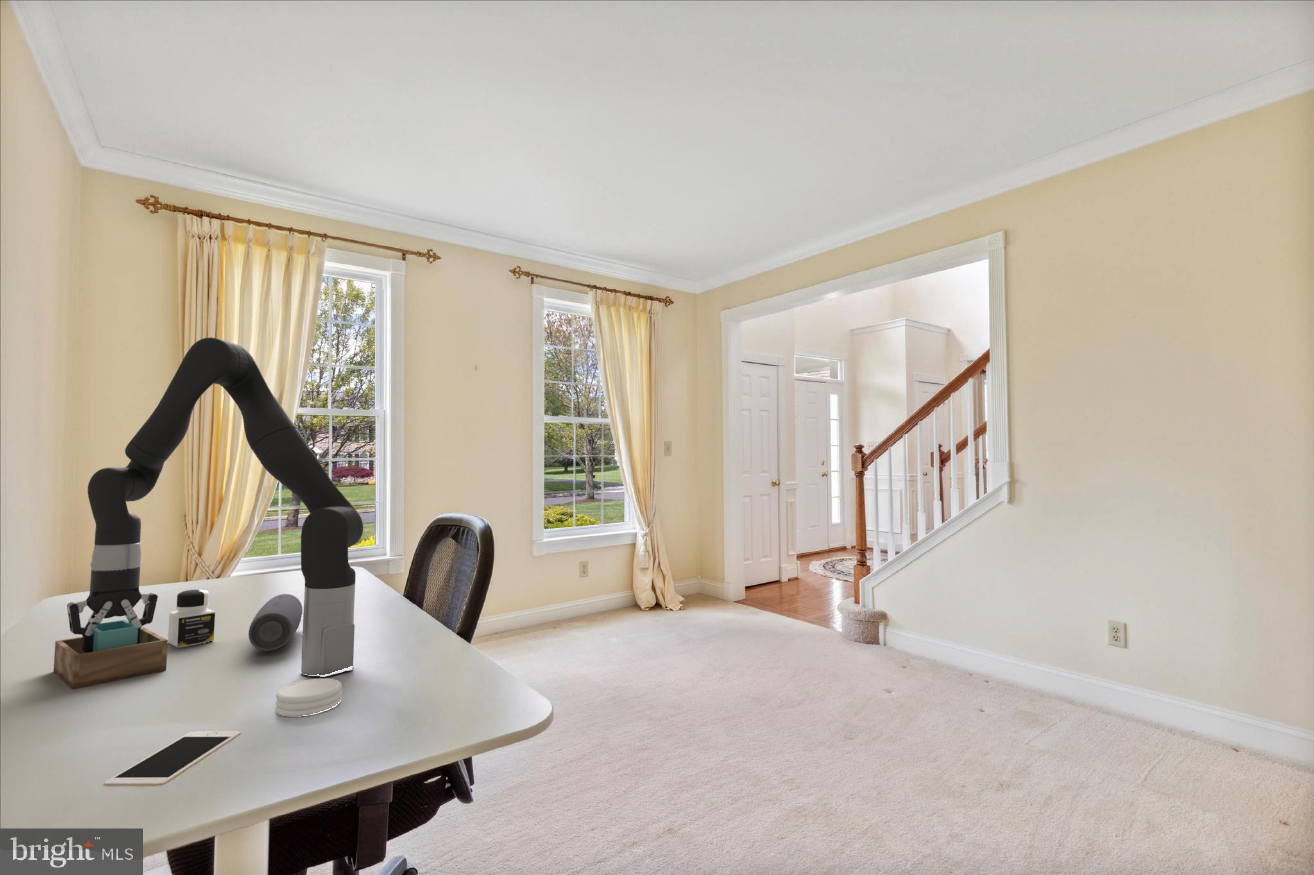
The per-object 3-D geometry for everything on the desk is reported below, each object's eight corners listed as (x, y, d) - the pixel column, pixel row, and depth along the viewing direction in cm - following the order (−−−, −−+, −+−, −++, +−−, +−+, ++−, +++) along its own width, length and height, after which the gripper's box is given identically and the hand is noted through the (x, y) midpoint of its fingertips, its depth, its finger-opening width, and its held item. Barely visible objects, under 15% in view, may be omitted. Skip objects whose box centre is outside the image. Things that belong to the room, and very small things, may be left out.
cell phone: (242, 735, 96) (242, 730, 96) (163, 787, 80) (163, 782, 80) (191, 735, 96) (191, 731, 96) (101, 788, 80) (101, 783, 80)
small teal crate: (136, 656, 124) (138, 626, 124) (96, 664, 119) (98, 632, 120) (123, 648, 129) (125, 619, 130) (85, 655, 125) (87, 625, 125)
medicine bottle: (177, 648, 140) (180, 594, 141) (167, 642, 144) (170, 590, 145) (214, 641, 146) (216, 590, 146) (203, 636, 150) (206, 586, 151)
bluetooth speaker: (260, 633, 153) (262, 592, 154) (303, 630, 157) (305, 590, 158) (243, 659, 133) (245, 612, 133) (293, 654, 137) (295, 608, 137)
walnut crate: (166, 670, 125) (167, 639, 125) (72, 689, 114) (74, 656, 114) (142, 655, 135) (143, 627, 135) (53, 671, 123) (55, 640, 124)
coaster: (266, 721, 101) (267, 699, 101) (285, 699, 111) (286, 679, 111) (334, 715, 104) (335, 694, 104) (346, 694, 113) (347, 675, 113)
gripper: (72, 572, 117) (66, 662, 116) (166, 563, 129) (161, 645, 128) (63, 568, 122) (57, 654, 121) (154, 560, 133) (150, 639, 132)
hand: (111, 649), depth 124 cm, fingers closed on small teal crate, 6 cm apart
